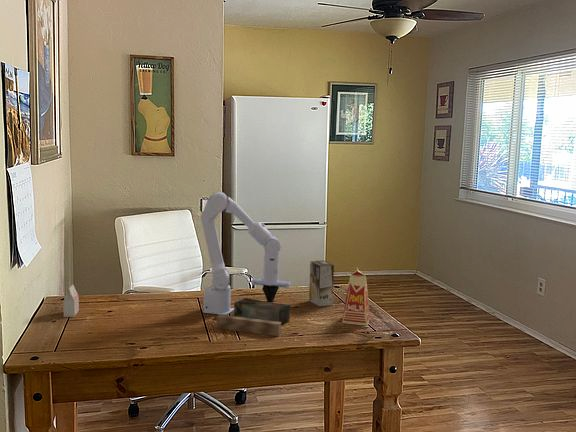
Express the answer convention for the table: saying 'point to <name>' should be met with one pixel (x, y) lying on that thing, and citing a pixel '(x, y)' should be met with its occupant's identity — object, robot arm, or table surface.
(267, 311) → the beverage carton
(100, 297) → the table surface
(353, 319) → the milk carton
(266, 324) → the walnut board
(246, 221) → the robot arm
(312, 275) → the coffee box
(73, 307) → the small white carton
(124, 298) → the table surface
